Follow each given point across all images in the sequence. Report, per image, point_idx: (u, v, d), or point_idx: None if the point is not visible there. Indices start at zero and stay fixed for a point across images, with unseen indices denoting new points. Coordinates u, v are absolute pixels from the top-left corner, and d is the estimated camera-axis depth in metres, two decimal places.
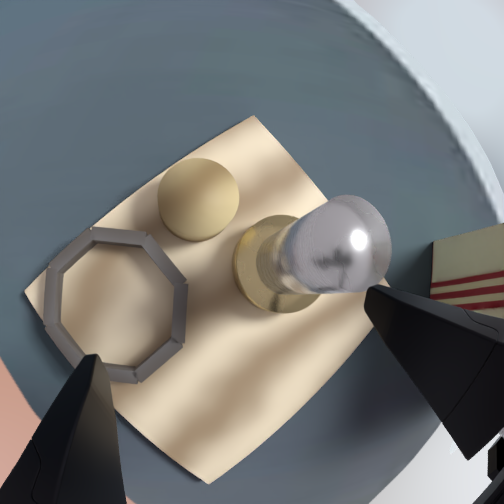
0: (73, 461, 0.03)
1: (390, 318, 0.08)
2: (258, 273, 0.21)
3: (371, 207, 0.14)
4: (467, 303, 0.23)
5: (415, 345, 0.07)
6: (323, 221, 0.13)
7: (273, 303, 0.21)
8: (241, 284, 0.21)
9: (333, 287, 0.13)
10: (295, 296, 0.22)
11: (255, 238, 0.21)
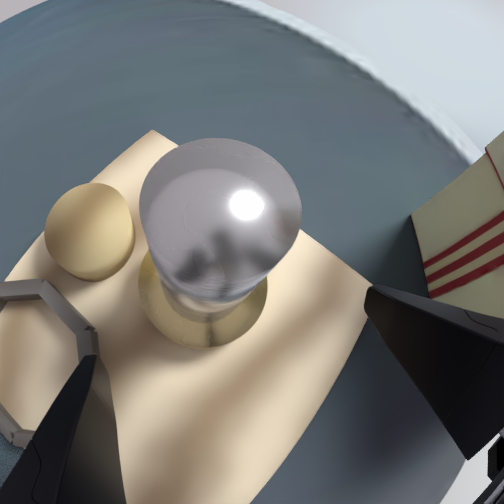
0: (73, 461, 0.03)
1: (390, 318, 0.08)
2: (167, 301, 0.15)
3: (246, 146, 0.09)
4: (474, 270, 0.18)
5: (415, 345, 0.07)
6: (157, 181, 0.08)
7: (196, 337, 0.15)
8: (150, 319, 0.15)
9: (196, 280, 0.08)
10: (225, 321, 0.16)
11: None
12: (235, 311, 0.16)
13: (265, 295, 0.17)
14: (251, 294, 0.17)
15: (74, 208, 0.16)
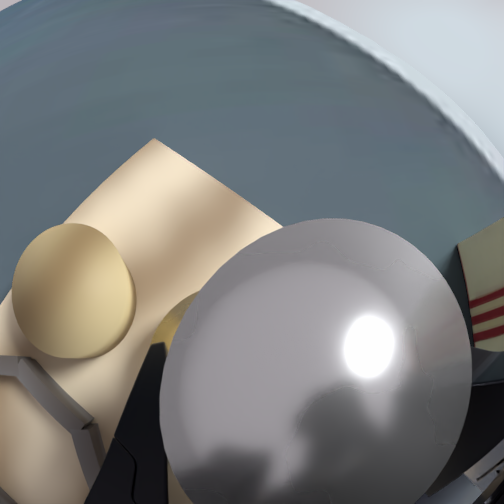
0: None
1: None
2: None
3: (393, 241, 0.04)
4: None
5: None
6: (201, 376, 0.03)
7: None
8: None
9: None
10: None
11: (172, 342, 0.11)
12: None
13: None
14: None
15: (48, 262, 0.10)
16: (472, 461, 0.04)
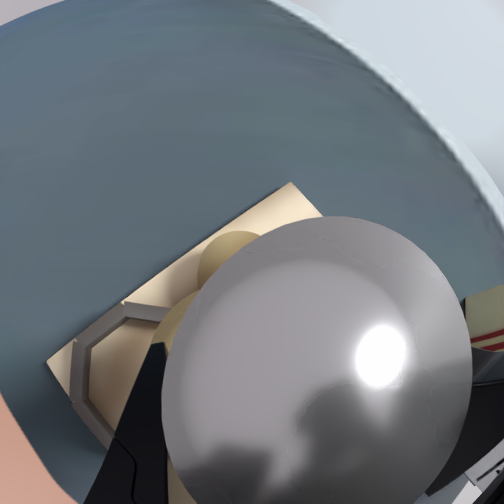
0: None
1: None
2: None
3: (394, 239, 0.04)
4: None
5: None
6: (203, 373, 0.03)
7: None
8: None
9: None
10: None
11: (172, 341, 0.11)
12: None
13: None
14: None
15: (232, 253, 0.20)
16: (472, 461, 0.04)
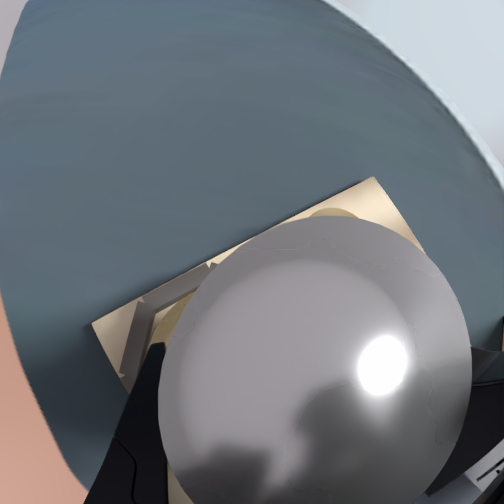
0: None
1: None
2: None
3: (392, 239, 0.04)
4: None
5: None
6: (200, 373, 0.03)
7: None
8: None
9: None
10: None
11: None
12: None
13: None
14: None
15: None
16: (472, 461, 0.04)
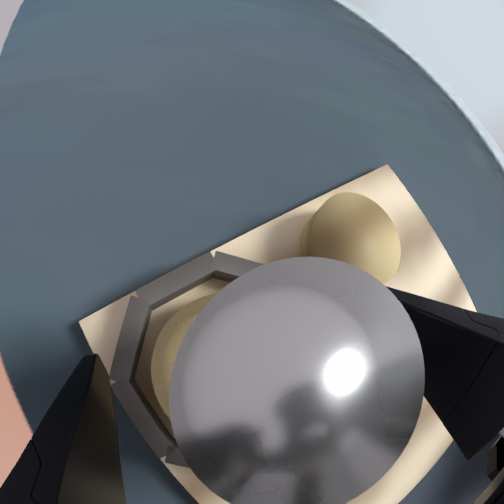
0: (73, 461, 0.03)
1: None
2: None
3: (352, 273, 0.05)
4: None
5: None
6: (198, 376, 0.04)
7: None
8: (170, 418, 0.11)
9: None
10: None
11: (174, 345, 0.12)
12: None
13: None
14: None
15: (351, 215, 0.16)
16: None
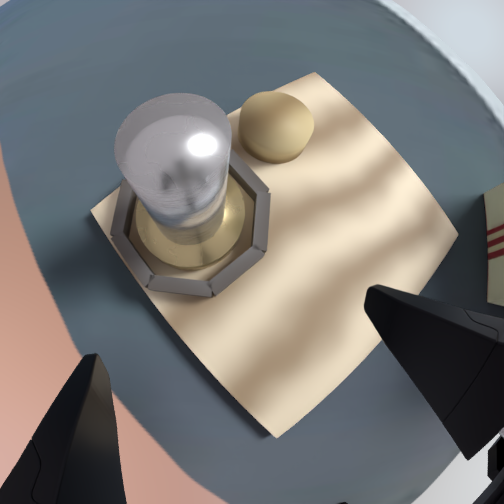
0: (73, 461, 0.03)
1: (390, 318, 0.08)
2: (161, 232, 0.19)
3: (187, 95, 0.11)
4: None
5: (415, 345, 0.07)
6: (125, 134, 0.10)
7: (189, 257, 0.18)
8: (149, 250, 0.19)
9: (159, 194, 0.10)
10: (211, 241, 0.19)
11: None
12: (219, 231, 0.19)
13: (243, 214, 0.20)
14: (231, 215, 0.19)
15: (268, 105, 0.21)
16: None
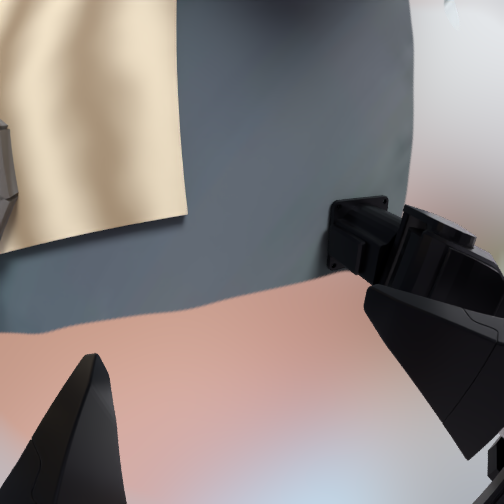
0: (73, 461, 0.03)
1: (390, 318, 0.08)
2: None
3: None
4: None
5: (415, 345, 0.07)
6: None
7: None
8: None
9: None
10: None
11: None
12: None
13: None
14: None
15: None
16: None
